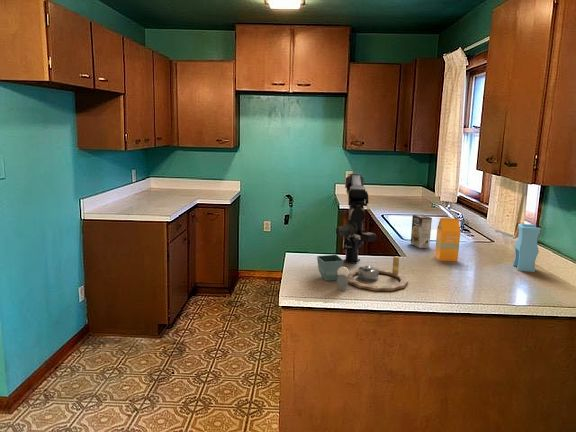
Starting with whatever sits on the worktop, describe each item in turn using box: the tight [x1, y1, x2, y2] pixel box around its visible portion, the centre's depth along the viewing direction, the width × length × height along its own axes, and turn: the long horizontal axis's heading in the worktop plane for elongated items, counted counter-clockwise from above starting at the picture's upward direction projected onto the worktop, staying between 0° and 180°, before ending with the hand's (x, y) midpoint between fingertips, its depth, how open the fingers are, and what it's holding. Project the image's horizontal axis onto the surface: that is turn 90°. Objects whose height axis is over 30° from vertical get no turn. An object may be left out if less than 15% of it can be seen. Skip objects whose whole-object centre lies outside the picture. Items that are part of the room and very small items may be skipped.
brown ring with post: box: [348, 255, 409, 292], centre depth 192 cm, size 24×24×8 cm
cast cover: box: [357, 265, 380, 283], centre depth 196 cm, size 8×8×5 cm
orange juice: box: [434, 217, 461, 262], centre depth 226 cm, size 8×9×20 cm
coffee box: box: [410, 214, 433, 249], centre depth 250 cm, size 9×6×16 cm
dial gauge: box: [337, 266, 350, 292], centre depth 182 cm, size 3×4×9 cm
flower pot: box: [316, 254, 345, 282], centre depth 194 cm, size 9×9×9 cm
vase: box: [512, 223, 542, 273], centre depth 212 cm, size 8×8×20 cm
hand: (354, 253), depth 201 cm, fingers closed
